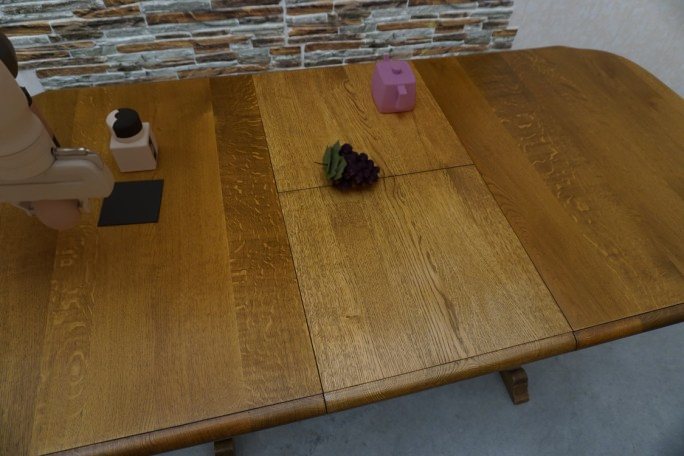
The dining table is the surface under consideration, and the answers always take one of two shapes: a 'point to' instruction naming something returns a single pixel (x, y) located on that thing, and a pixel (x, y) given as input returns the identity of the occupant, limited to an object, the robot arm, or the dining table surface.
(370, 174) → the fruit
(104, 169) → the robot arm
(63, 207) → the egg
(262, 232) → the dining table surface
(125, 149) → the container
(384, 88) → the teapot
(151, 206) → the mat
